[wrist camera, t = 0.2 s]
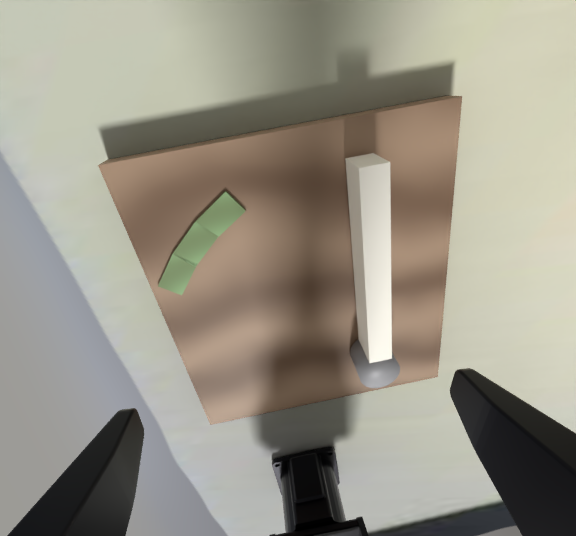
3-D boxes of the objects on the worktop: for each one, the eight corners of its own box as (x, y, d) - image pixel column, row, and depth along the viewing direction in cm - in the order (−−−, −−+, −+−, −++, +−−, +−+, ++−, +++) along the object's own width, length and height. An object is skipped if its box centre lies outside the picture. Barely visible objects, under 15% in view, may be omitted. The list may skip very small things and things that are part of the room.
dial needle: (387, 359, 27) (401, 386, 25) (351, 367, 27) (361, 394, 25) (383, 149, 19) (403, 159, 17) (332, 159, 19) (345, 170, 17)
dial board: (429, 364, 31) (438, 378, 29) (211, 409, 30) (210, 426, 29) (447, 95, 20) (464, 96, 18) (108, 159, 19) (96, 165, 18)
